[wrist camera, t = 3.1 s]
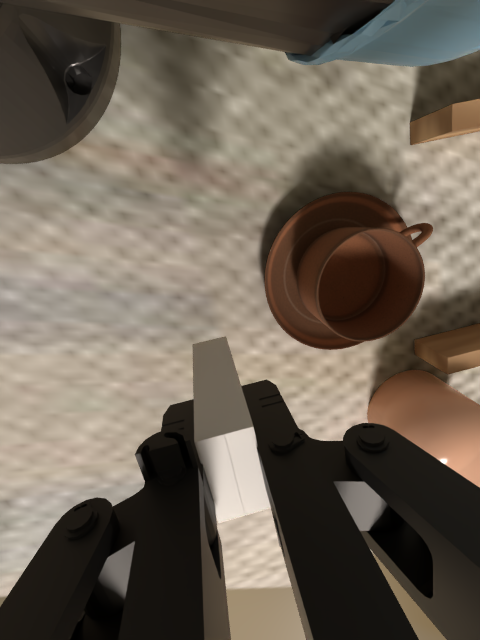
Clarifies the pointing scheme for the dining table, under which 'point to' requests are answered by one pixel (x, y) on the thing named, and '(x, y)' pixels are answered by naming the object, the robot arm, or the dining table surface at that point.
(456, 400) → the peach rounded capsule
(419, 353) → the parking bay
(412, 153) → the dining table surface
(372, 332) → the cup and saucer
